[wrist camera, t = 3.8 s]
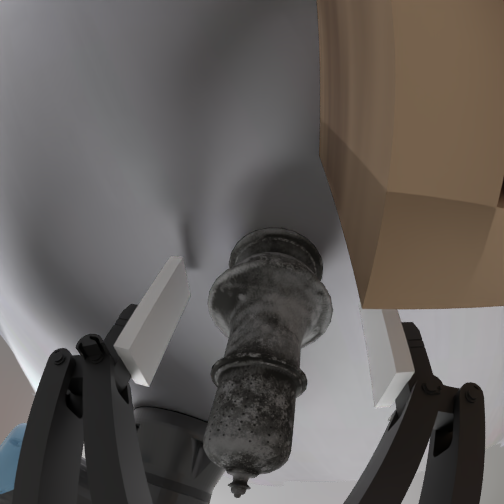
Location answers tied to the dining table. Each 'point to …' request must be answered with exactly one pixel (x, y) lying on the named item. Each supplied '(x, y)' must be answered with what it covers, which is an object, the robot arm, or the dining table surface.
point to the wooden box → (416, 147)
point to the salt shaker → (263, 349)
